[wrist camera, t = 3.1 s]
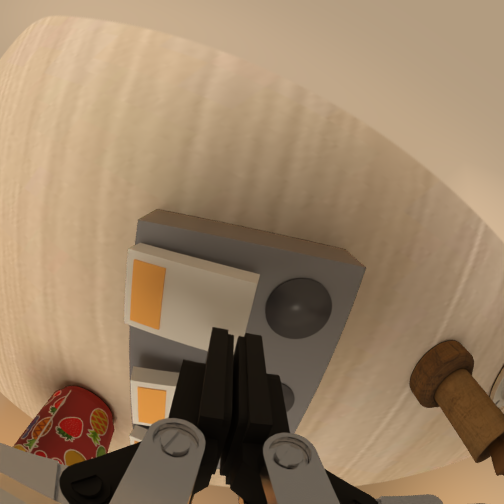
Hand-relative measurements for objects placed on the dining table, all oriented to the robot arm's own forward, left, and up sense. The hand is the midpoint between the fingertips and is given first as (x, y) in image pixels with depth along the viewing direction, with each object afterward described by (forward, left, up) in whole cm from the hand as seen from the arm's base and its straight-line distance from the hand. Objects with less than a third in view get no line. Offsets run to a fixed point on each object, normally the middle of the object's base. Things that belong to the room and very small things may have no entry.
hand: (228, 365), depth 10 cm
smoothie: (+11, +17, -9) cm, 23 cm away
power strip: (-1, +7, -9) cm, 11 cm away
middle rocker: (+2, +7, -6) cm, 9 cm away
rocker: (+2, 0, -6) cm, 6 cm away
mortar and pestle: (-21, +6, -9) cm, 23 cm away
